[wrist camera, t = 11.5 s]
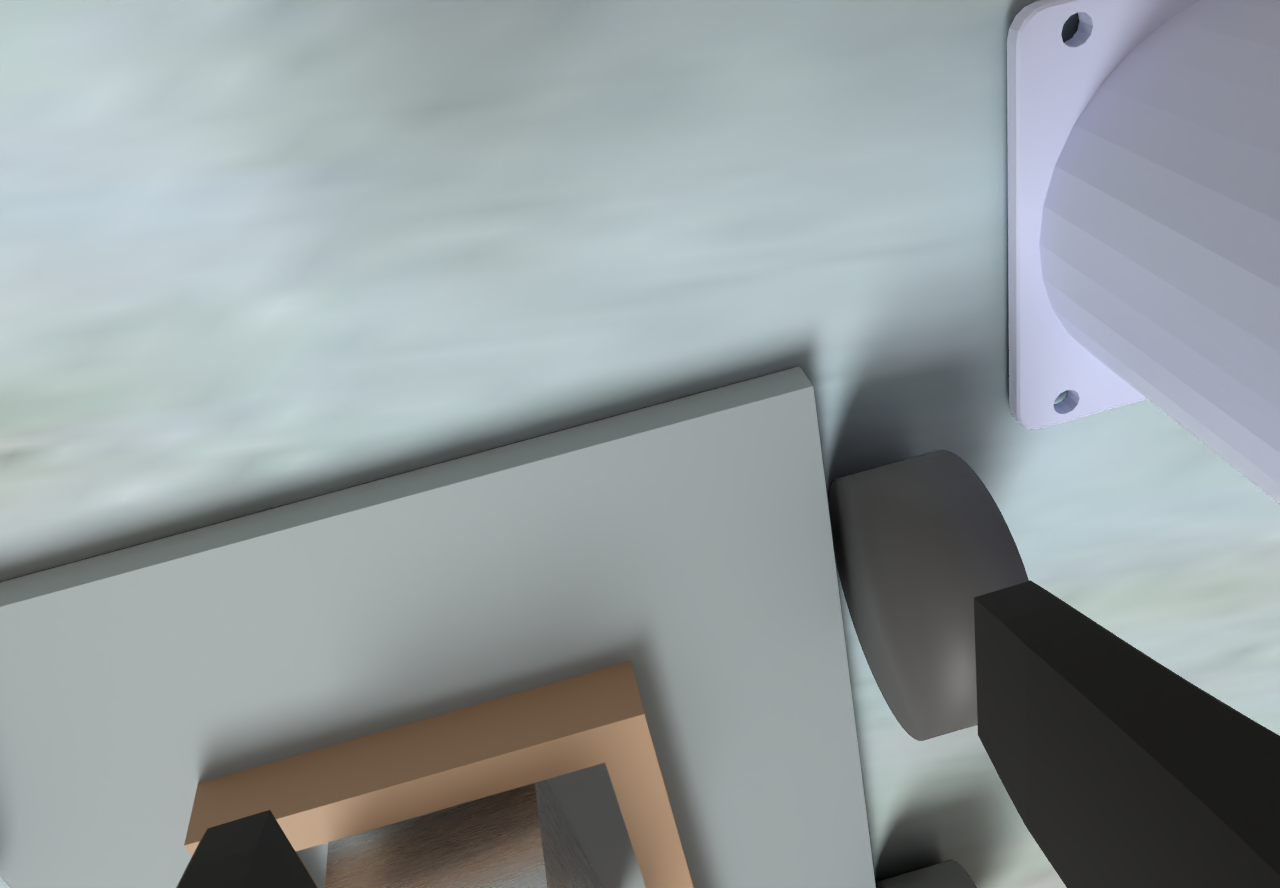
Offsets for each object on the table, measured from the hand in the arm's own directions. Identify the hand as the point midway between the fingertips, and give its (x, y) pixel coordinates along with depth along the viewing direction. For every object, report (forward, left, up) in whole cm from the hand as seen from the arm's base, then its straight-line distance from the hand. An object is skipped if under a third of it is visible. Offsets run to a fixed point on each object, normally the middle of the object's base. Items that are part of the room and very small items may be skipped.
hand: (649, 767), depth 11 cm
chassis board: (+5, +12, -9) cm, 16 cm away
